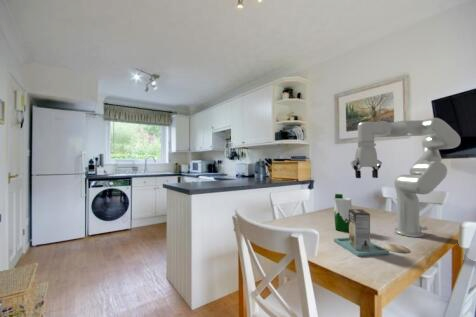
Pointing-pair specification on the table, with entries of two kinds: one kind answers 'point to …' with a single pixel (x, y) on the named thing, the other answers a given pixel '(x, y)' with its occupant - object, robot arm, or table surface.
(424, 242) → the table surface
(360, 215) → the coffee box
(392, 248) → the gold metallic coaster
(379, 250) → the tray
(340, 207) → the milk carton
